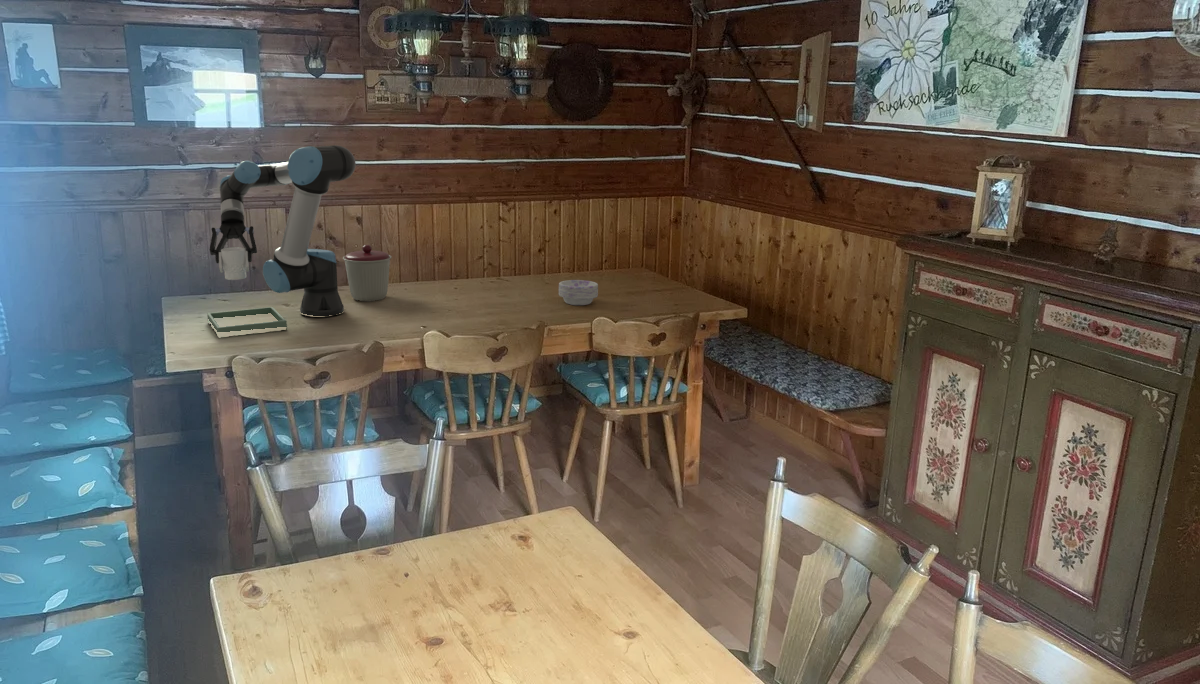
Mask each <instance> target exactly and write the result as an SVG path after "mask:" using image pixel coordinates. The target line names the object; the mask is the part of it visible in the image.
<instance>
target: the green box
mask: <svg viewBox="0 0 1200 684" xmlns="http://www.w3.org/2000/svg"><path fill="white" fill-rule="evenodd" d="M268 313H271V314H272V315H273V316H274V317H275V318H276V319H277V320H278V321H273V322H263V323H254V324H244V325H235V326H226V327H219V325H218V324H217V322H216V321H215V320H214V318H223V317H235V316H246V315H256V314H268ZM206 314H207V320H208V319H209V321H210V322H211V323H212V325H213V326H214V328H215V329H216V330H217V332H230V331H241V330H251V329H252V330H253V329H265V328H277V327H287V328H288V324H287V319H285V318H284V317H283V316H282V314H280V313H279V312H278V311H277V309H275V308H274V307H273V306H266V307H257V308H247V309H236V310H228V311H226V310H225V311H216V312H215V311H214V312H207V313H206Z"/></svg>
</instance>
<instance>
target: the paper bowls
mask: <svg viewBox="0 0 1200 684" xmlns="http://www.w3.org/2000/svg"><path fill="white" fill-rule="evenodd" d="M598 295H599V284H598V282H595V281H591V280H583V279H570V280H563V281H560V282H559V283H558V296H559V297H561V298H562V299H563V301H564V303H566V304H568V305H569V306H570V305H571V306H587V305H590V304H592V302H593V301H594V299H596V298H598Z"/></svg>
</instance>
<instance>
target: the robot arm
mask: <svg viewBox="0 0 1200 684" xmlns="http://www.w3.org/2000/svg"><path fill="white" fill-rule="evenodd" d="M356 164H357V163H356V159H355V156H354V154H353V153H352V152H351V150H349V149H348V148H347V147H344V146H342V145H335V144H334V145H321V146H310V145H308V146H305V147H298V148H296V149H295V150H294V151H293V152H292V153H291V154H290V155H289V158H288V161H286V162H280V163H279V162H278V163H273V164H264V165H263V164H262V165H260V164H259V165H258V164H257V163H255V162H253V161H251V160H244V161H240V164H239V165H237V166H236V168H234V171H233V172H232V174H231V175H226V176H223V177H222V178H221V180H220V183H219V185H220V186H219V193H220V194H219V195H220V226H219V228H215V227H211V234H212V235H211V239H210V245H209V253H210V256H214V257H215V263H216V264H218V267H219V268H218V269H219V273H221V274H222V273H223V272H224V269H223V263H222V256H221V249H224V248H225V246H226V244H227V242H228V241H229V240H232V239H236V240H238V241H239V242H240V243H241V245H242V247H243V248H245V251H246V252H245V263H246V272H249V268H250V266H249V265H250V264H249V263H251V262H252V261H253V260H252V258H253V257H252V255H253V254H257V253H258V250H257V245H256V240H255V236H254V234H255V230H254V226H252V225H251V226H249V227H248V226H245V211H244V210H245V209H244V197H245V195H246V194H247V193H248V192H249V191H250V190H251V189H252V188H253V189H254V188H255V189H256V188H261V187H262V188H264V187H265V188H266V187H275V186H287V185H289V184H292V186H293V187H294V191H293V197H292V199H291V204H290V207H289V211H288V212H289V213H288V215H287V220H286V223H285V229H284V232H283V235H282V236H283V237H282V240H281V244H280V246H279V247H277V248H276V249H275V250H274V254H273V257H272V259H268V260H266V261H265V262H264V263H263V265H262V275H263V278H264V281H265V282H266V283H265V284H266V285H267V286H268V288H269V289H270V290H271V291H273V292H275V293H277V294H281V293H289V292H292V291H297V290H302V289H303V296H302V300H301V304H300V308H299V309H300V310H299V312H301V313H303V314H307V315H313V316H329V315H336V314H339V313H342V312H343V311H344V312H345V307H344V304H343V302H342V299H341V296H340V293H339V290H338V289H339V288H338V272H337V271H338V269H337V264H338V263H337V257H336V253H335V252H334V251H332V250H330V249H329V250H328V249H320V248H319V249H318V248H309V246H310V241H311V237H312V235H313V230H314V226H315V223H316V218H317V215H318V211H319V207H320V203H321V200H322V196H323V195H325V194H327V193H328V192H329V188H330V184H331V183H333V182H341V181H344V180H347V179H349V178H350V177H351V176H353V174H354V173H355V170H356ZM245 232H247V234H248V236H249V240H250V243H251V247H250V245H249V244H248V242H247V240H246V239H245V237H244V233H245ZM220 233H221V234H222V237H221V239H220V240H219V243H218V244H217V240H218V236H219V235H220ZM216 245H217V246H216ZM342 314H343V313H342Z"/></svg>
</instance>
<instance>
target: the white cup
mask: <svg viewBox="0 0 1200 684" xmlns="http://www.w3.org/2000/svg"><path fill="white" fill-rule="evenodd" d="M245 252H246V250H245V248H244V247H241V246H240V247H238V246H237V247H224V248H223V249H221V256H222V269H223V272H224V279H225V280H227V281H228V280H229V281H236V280H243V279H246V278H247V271H246V263H245Z"/></svg>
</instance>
